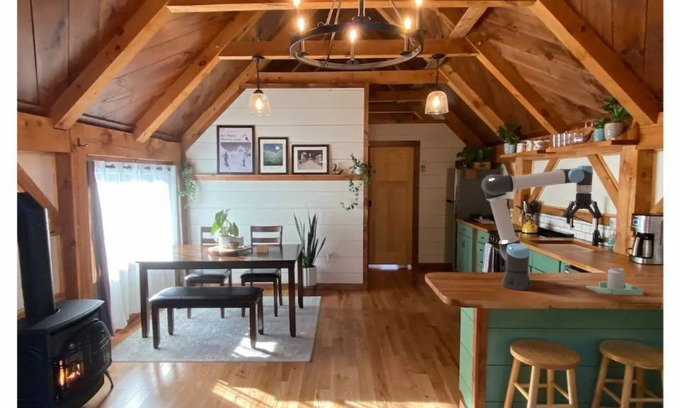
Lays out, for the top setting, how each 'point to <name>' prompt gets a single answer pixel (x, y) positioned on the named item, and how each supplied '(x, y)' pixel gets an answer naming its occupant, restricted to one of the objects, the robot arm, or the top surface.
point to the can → (616, 279)
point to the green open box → (626, 291)
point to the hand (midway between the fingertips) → (581, 229)
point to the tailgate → (598, 290)
